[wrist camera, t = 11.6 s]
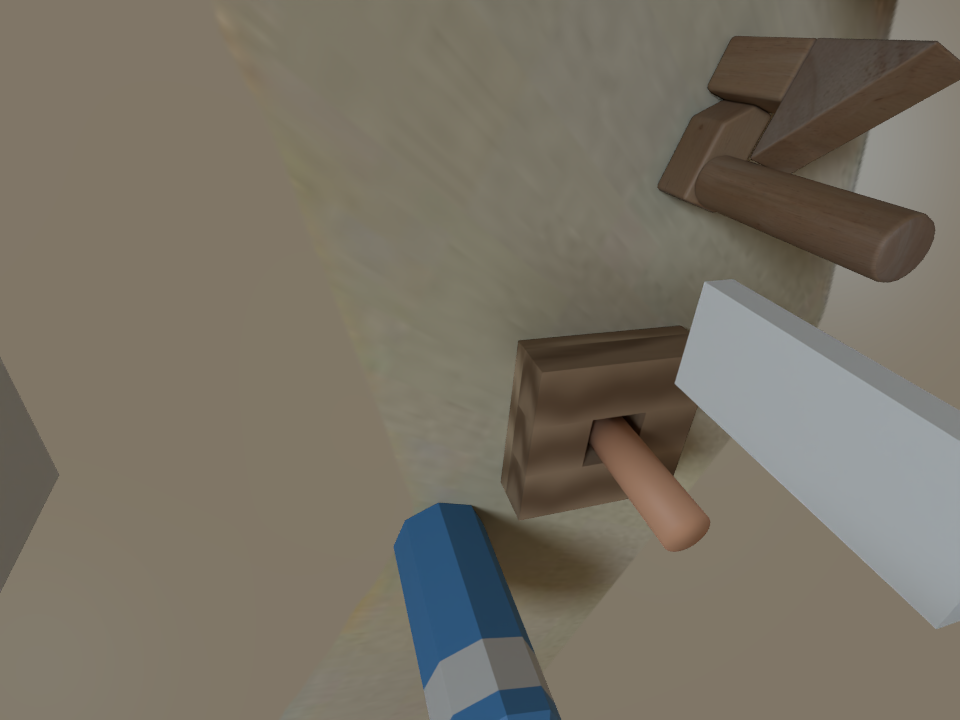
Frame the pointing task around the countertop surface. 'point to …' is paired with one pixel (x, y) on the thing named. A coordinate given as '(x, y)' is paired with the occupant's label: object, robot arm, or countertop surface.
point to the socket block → (589, 413)
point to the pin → (648, 484)
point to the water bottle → (466, 622)
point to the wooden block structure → (809, 143)
